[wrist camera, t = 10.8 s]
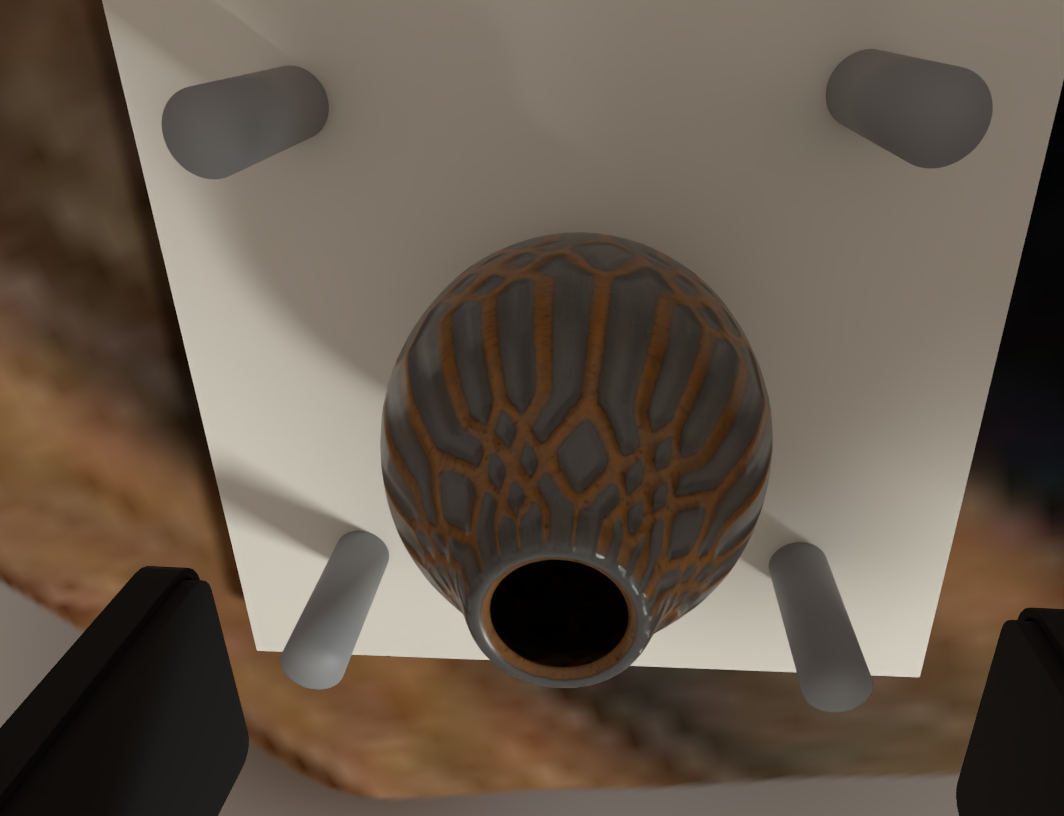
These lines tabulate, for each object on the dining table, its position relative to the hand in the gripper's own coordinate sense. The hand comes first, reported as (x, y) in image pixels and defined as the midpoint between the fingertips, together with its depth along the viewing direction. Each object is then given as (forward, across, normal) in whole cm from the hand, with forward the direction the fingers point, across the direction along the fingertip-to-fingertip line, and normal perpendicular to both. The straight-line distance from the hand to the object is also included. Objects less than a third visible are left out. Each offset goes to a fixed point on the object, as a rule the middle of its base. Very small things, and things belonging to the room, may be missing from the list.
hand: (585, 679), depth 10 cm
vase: (+10, +1, 0) cm, 10 cm away
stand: (+11, +1, 0) cm, 11 cm away
